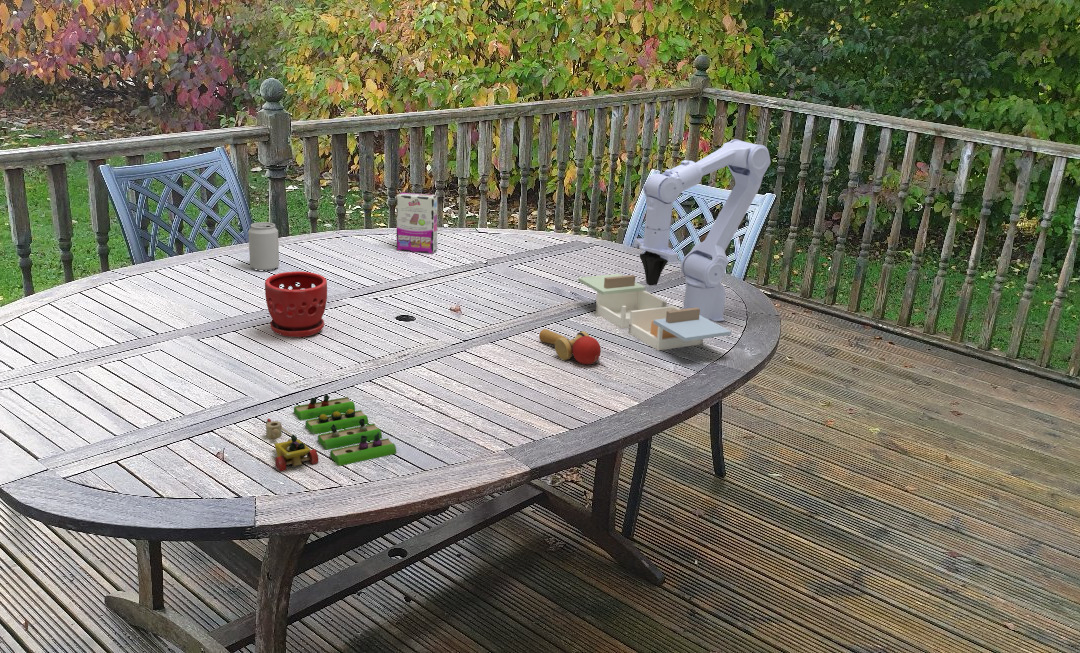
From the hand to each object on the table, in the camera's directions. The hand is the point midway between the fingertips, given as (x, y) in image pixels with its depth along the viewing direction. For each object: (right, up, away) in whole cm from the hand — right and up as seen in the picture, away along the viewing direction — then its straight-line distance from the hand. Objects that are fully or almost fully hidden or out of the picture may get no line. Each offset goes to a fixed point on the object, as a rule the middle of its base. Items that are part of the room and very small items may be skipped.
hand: (651, 284), depth 226 cm
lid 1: (-8, 0, +12) cm, 15 cm away
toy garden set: (-64, -29, -60) cm, 92 cm away
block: (+2, -13, -8) cm, 15 cm away
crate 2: (+2, -13, -6) cm, 15 cm away
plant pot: (-79, -11, -12) cm, 81 cm away
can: (-99, +6, +32) cm, 104 cm away
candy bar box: (-62, +12, +57) cm, 85 cm away
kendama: (-20, -16, -16) cm, 30 cm away
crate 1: (-5, -8, +7) cm, 12 cm away
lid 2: (+7, -10, -16) cm, 20 cm away
